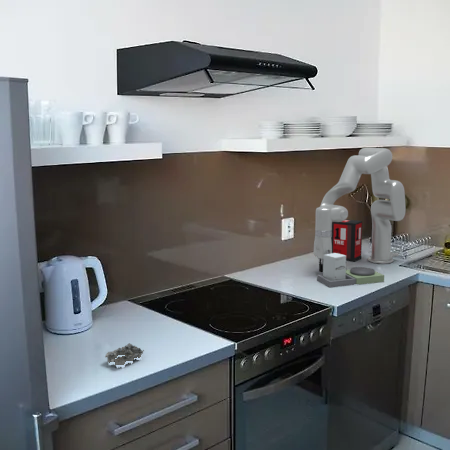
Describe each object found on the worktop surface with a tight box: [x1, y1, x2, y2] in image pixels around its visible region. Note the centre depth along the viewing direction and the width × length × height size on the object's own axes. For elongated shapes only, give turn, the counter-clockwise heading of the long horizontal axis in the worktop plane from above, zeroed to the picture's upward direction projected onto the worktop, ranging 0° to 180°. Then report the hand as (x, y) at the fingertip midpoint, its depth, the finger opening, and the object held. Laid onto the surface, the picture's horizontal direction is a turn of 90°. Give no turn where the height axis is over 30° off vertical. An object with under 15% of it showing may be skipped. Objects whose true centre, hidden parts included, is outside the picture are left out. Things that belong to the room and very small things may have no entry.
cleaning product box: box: [331, 218, 363, 263], centre depth 291 cm, size 16×9×20 cm, turn 53°
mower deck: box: [316, 266, 385, 288], centre depth 252 cm, size 27×14×4 cm, turn 108°
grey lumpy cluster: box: [104, 342, 145, 366], centre depth 170 cm, size 11×8×4 cm
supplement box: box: [322, 253, 347, 281], centre depth 249 cm, size 7×7×13 cm
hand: (322, 271), depth 262 cm, fingers closed
